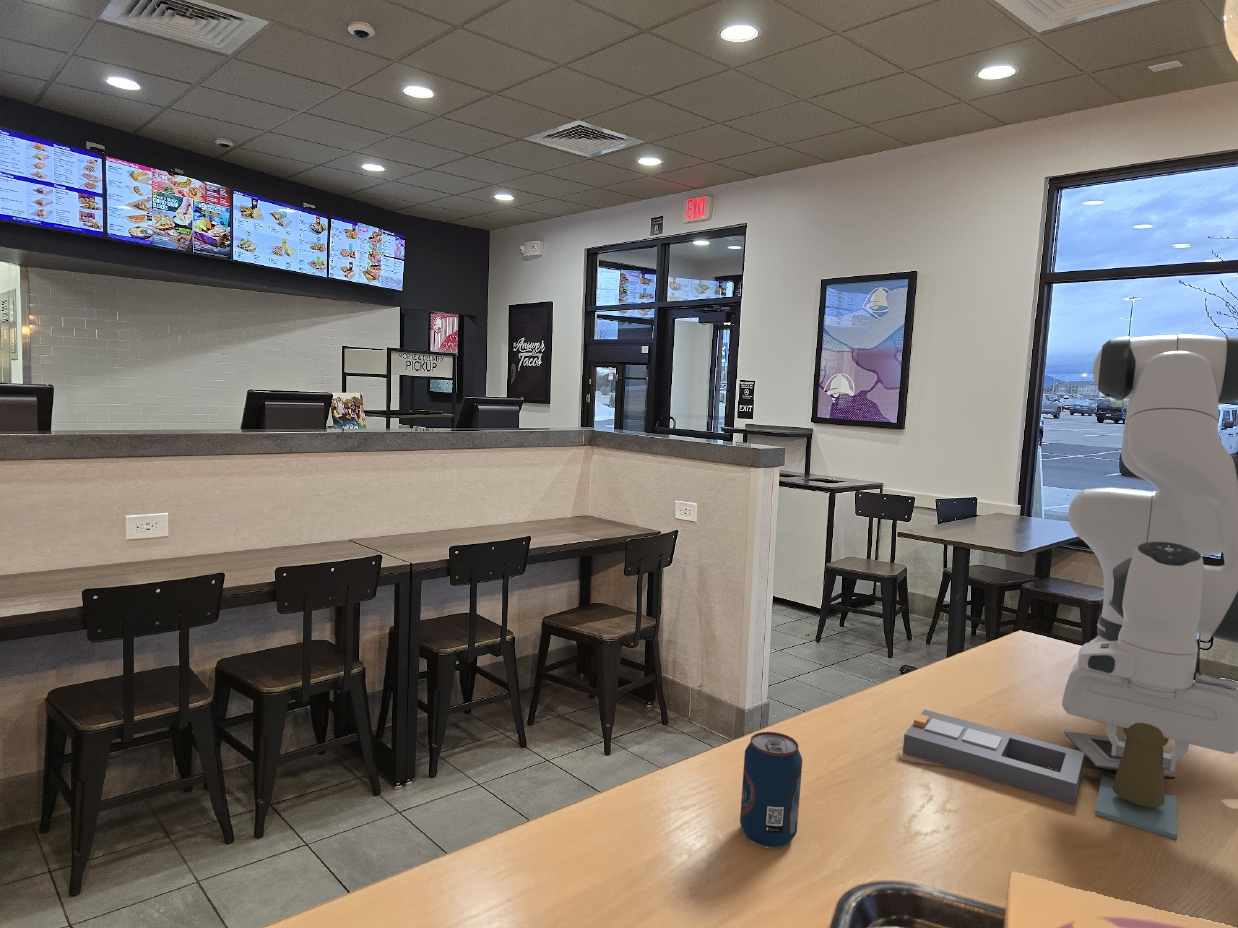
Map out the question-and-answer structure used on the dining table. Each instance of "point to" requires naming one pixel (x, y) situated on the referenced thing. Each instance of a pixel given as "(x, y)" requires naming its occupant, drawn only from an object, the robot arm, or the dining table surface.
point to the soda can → (771, 789)
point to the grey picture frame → (1101, 752)
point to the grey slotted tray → (996, 755)
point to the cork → (1142, 766)
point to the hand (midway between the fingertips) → (1142, 761)
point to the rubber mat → (1137, 811)
